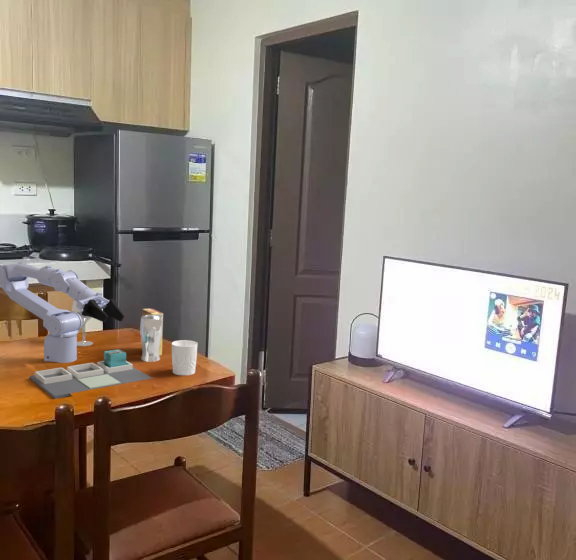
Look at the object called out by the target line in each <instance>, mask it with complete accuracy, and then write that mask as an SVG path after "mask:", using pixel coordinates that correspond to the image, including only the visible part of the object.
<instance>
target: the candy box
mask: <svg viewBox="0 0 576 560" xmlns="http://www.w3.org/2000/svg"><path fill="white" fill-rule="evenodd" d="M144 315H158V316H161V320H162V335H161V341H160V346H159V356H162V355H163V332H164V331H163V330H164V313H163V312H161V311H159V310H156V309H155V308H142V316H144ZM141 351H142V352H143V350H142V349H141Z"/></svg>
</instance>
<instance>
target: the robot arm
mask: <svg viewBox="0 0 576 560" xmlns="http://www.w3.org/2000/svg"><path fill="white" fill-rule="evenodd" d="M29 278H32V279H36V280H37V282H38V283H39V284H41V285H43V286H47V287H52V288H54V291H55V292H62V293H64V294H66V295H67V296H68V297H70V298H71V299H72V300H73V301H74V300H75V301H76V302H77V305H76V307H78V308H79V309H83V311H82V315H83V316H88V317H92V318H93V319H95V320H97V321H99V322H101V323H106V322H107V320H108V317H111V318H113V319H115V320H116V321H118V322H123V320H124V318H125V314H124V313H123V312H122V310H121V308H120V307H119V305H118V303H117V300H116V299H114V298H110V299H107V298H105V297H104V296H103V292H101V291H97V292H96V291H94V290H92V288H90V287H89V286H87V285H86V284H85V283H83V282H82V281H81V280H80V279H79V276H78V274H77V273H76V272H75V271H73V270H71V269H70V270H67V271H63V270H62V268H57V269H56V268H53V267H52V265H45V266H42V267H36V266H32V265H30V264H27V263H26V262H16V263H7V264H0V288H1V289H2V290H3V291H4V293H6V295H7V296H8V298H9V299H10V300H11V301H13V302H15V303H16V304H18V305H20V307H22V308H24V309H26V310H27V311H29V312H30V313H32V315H35V316H37V317H38V318H39V319H41V320H43V321H42V325H43V327H44V328H45V329H46V330H47V331H48V334H47V335H46V336H45V337H44V342H43V353H44V354H43V357H44V359H43V362H54V363H61V364H62V363H63V364H64V363H65V364H67V363H72V362H75V361H77V360H78V357H77V356H78V353H77V351H78V348H77V347H78V346H77V342H78V337H77V336H78V334H79V331H80V330H81V329H82V328H83V324H82V319H81V316H80V315H79V314H78V313H76V312H72V311H70V310H68V309H64V308H63V309H62V308H57V307H56V306H55V305H53V304H51V303H50V302H48V301H47V300H45V299H43V298H42V297H41V296H38V295H37V294H35V293H34V292H32V291H31V290H29V289H28V288H29ZM103 309H104V310H105V311H104V310H103ZM92 318H91V319H92Z"/></svg>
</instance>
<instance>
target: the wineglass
mask: <svg viewBox="0 0 576 560" xmlns="http://www.w3.org/2000/svg"><path fill="white" fill-rule="evenodd" d="M72 302H73V303H72V305H71V312H76V313H78V314H79V315H80V316H81V319H82V341H77V347H89V346H92V345H93V344H94V342H93V341H89V340H86V324H87V323H88V321H90V320H91V319H92V317H88V316H83V315H82V311H83V309H79V308H78V307H76V305H77V302H76V301H75V300H74V299H73V301H72Z"/></svg>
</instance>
